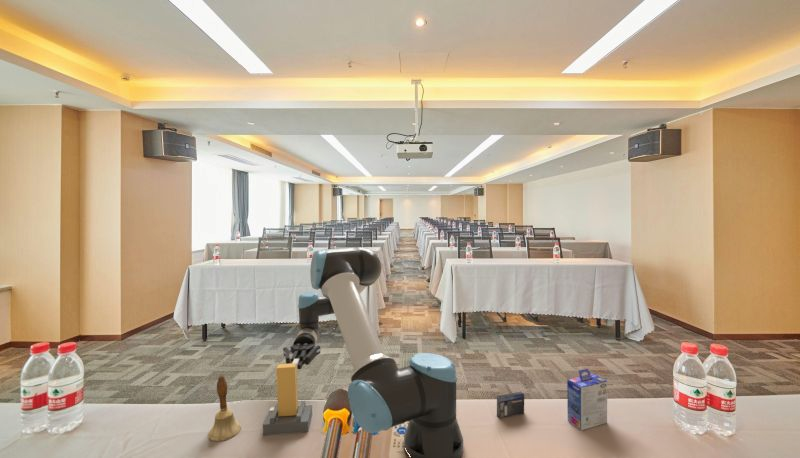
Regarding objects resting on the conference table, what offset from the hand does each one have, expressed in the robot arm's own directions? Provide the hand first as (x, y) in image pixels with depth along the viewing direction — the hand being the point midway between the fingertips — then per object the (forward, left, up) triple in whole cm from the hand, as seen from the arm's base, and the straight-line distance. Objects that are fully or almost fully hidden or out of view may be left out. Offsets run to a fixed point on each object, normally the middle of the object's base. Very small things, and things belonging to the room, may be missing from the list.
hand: (292, 372), depth 109 cm
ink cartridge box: (-84, +17, -12) cm, 86 cm away
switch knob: (0, +8, -8) cm, 12 cm away
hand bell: (+17, +9, -12) cm, 23 cm away
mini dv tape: (-64, +11, -12) cm, 66 cm away
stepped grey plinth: (0, +8, -11) cm, 14 cm away
